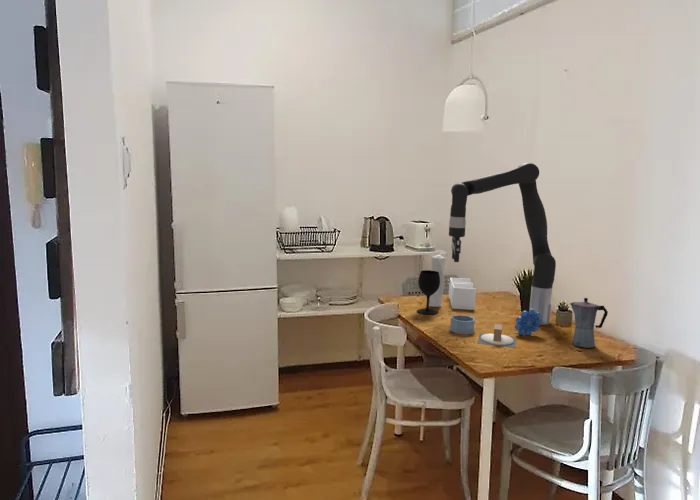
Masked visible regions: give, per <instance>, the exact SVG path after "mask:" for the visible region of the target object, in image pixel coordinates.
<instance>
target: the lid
mask: <svg viewBox="0 0 700 500" xmlns="http://www.w3.org/2000/svg"><path fill="white" fill-rule="evenodd" d="M502 330H503V324H501V323H500V324H499V323H494V328H493V333H484V335H482V336H481V340H482V341H484V342H486V343H490V344H494V345H510V344H512V343H513V339H512V338H511V337H512V336H510V337H509V335H505V334H502V332H503V331H502ZM494 345H493V346H494Z"/></svg>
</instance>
